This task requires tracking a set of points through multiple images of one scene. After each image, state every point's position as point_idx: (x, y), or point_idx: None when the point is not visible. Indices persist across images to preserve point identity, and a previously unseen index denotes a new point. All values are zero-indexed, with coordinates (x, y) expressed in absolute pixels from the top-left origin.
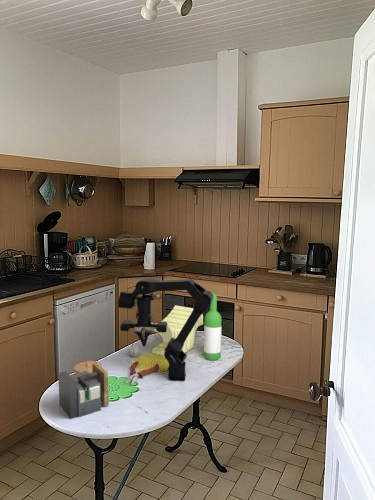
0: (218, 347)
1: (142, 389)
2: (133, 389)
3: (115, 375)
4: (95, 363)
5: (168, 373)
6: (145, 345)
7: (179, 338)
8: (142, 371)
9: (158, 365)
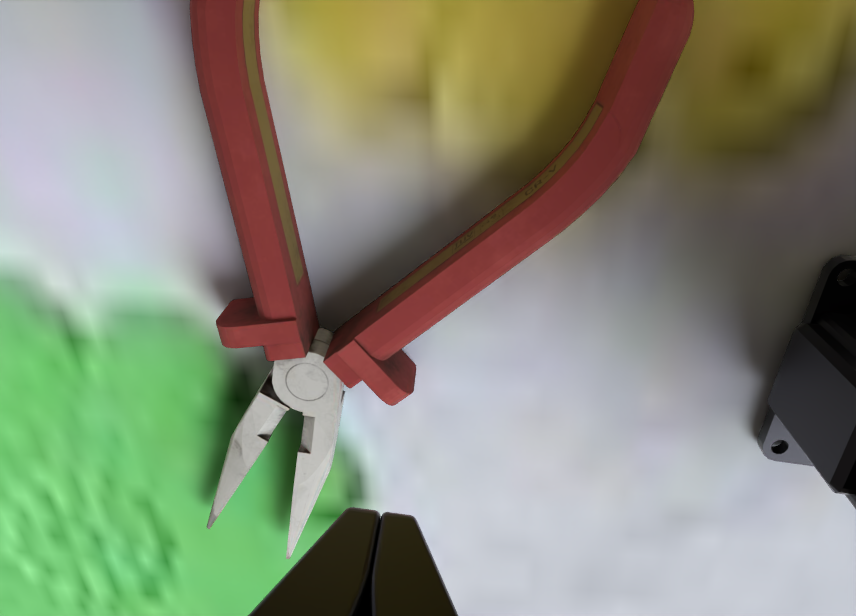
0: None
1: None
2: None
3: (28, 260)
4: None
5: (791, 434)
6: (416, 543)
7: None
8: (399, 325)
9: (681, 49)
